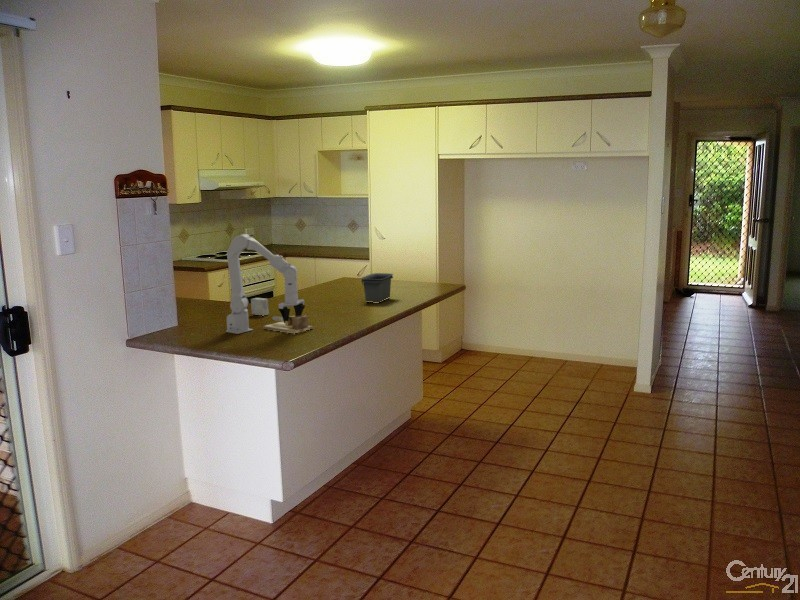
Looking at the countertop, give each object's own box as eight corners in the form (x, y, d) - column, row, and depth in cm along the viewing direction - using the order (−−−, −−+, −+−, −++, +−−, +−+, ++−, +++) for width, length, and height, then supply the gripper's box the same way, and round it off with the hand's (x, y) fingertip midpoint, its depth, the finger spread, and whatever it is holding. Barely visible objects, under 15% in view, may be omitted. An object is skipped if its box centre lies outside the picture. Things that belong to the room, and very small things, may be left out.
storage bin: (382, 304, 366) (381, 278, 364) (355, 303, 371) (355, 277, 369) (395, 298, 386) (395, 273, 383) (370, 297, 391) (370, 272, 389)
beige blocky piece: (294, 334, 298) (293, 319, 297) (263, 329, 310) (262, 315, 308) (313, 329, 307) (312, 315, 306) (282, 324, 319) (281, 310, 318)
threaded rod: (296, 324, 303) (296, 320, 303) (272, 320, 312) (272, 316, 312) (299, 323, 305) (299, 319, 305) (275, 319, 314) (275, 315, 314)
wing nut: (289, 329, 300) (288, 318, 299) (284, 328, 302) (284, 317, 301) (306, 324, 309) (306, 314, 308) (301, 324, 311) (301, 313, 310)
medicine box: (269, 315, 342) (268, 298, 341) (263, 317, 338) (262, 300, 337) (257, 314, 346) (256, 297, 344) (251, 315, 342) (250, 298, 341)
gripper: (286, 295, 296) (287, 325, 298) (308, 291, 307) (309, 320, 310) (274, 294, 300) (275, 323, 302) (297, 289, 311) (298, 318, 314)
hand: (292, 321), depth 306 cm, fingers open, 7 cm apart
